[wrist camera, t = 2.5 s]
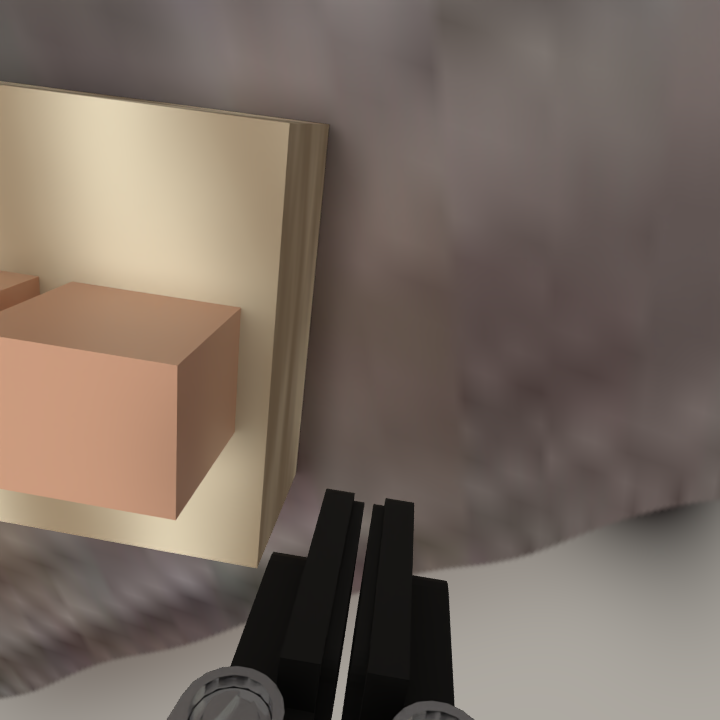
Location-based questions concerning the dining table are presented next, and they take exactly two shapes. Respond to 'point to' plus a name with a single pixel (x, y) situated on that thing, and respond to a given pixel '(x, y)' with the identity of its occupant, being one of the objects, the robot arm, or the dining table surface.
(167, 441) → the block
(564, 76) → the dining table surface
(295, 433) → the plate
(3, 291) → the block
